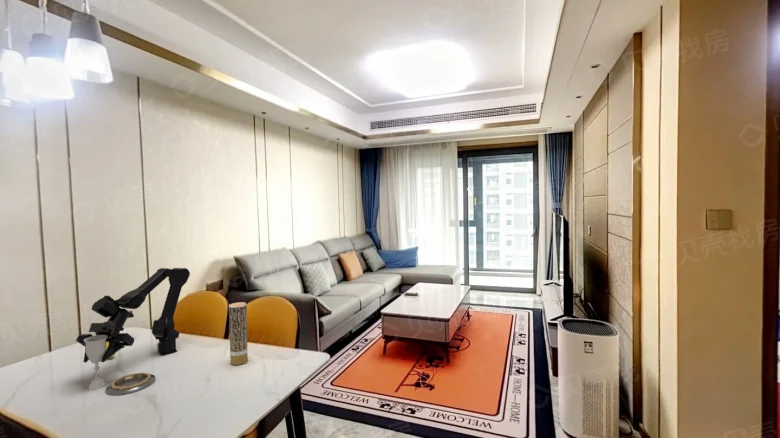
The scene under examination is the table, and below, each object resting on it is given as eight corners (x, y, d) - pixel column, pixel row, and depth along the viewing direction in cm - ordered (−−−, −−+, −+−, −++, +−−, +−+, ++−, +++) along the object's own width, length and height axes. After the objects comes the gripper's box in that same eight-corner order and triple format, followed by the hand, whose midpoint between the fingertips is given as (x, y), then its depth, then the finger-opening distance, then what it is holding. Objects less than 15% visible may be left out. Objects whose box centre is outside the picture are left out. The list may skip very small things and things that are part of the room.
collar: (150, 372, 142) (150, 367, 142) (159, 384, 131) (159, 379, 131) (102, 385, 131) (102, 380, 131) (109, 400, 121) (108, 394, 121)
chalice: (81, 387, 130) (79, 339, 129) (103, 379, 136) (101, 333, 135) (90, 392, 126) (89, 342, 126) (112, 383, 132) (111, 336, 132)
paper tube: (250, 359, 153) (249, 302, 153) (242, 366, 146) (241, 306, 146) (235, 358, 154) (234, 302, 153) (227, 365, 147) (225, 306, 147)
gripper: (79, 313, 135) (52, 353, 124) (128, 312, 135) (106, 352, 124) (96, 327, 143) (73, 365, 132) (142, 326, 143) (123, 364, 132)
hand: (93, 362), depth 130 cm, fingers closed on chalice, 6 cm apart
